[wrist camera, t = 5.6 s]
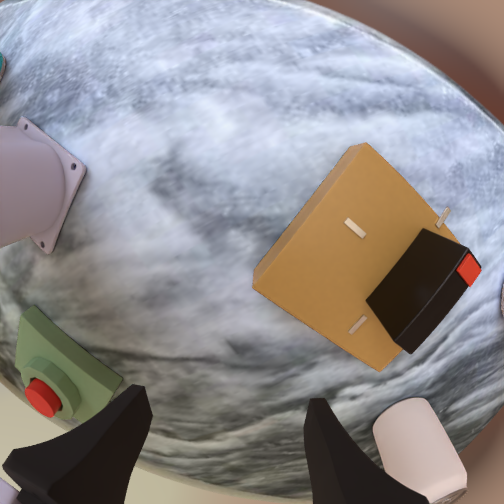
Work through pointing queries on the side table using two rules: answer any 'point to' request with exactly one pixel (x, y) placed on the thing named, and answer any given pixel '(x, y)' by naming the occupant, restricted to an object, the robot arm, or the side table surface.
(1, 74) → the beverage can
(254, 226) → the side table surface
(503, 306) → the soap bottle
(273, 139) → the side table surface
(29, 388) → the button
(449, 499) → the can
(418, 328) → the black battery pack
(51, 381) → the button box
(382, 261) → the brown panel
